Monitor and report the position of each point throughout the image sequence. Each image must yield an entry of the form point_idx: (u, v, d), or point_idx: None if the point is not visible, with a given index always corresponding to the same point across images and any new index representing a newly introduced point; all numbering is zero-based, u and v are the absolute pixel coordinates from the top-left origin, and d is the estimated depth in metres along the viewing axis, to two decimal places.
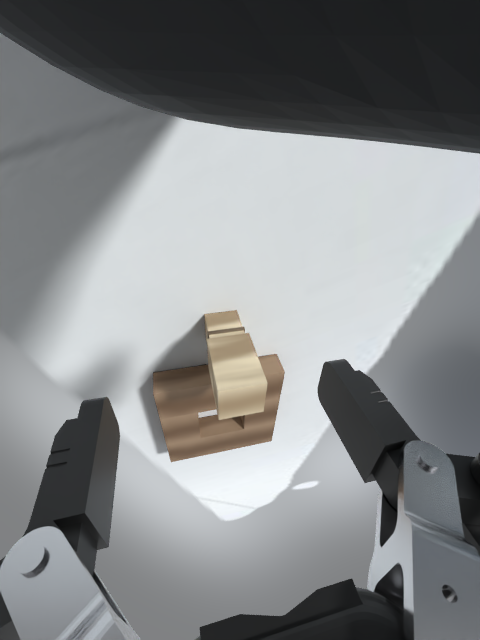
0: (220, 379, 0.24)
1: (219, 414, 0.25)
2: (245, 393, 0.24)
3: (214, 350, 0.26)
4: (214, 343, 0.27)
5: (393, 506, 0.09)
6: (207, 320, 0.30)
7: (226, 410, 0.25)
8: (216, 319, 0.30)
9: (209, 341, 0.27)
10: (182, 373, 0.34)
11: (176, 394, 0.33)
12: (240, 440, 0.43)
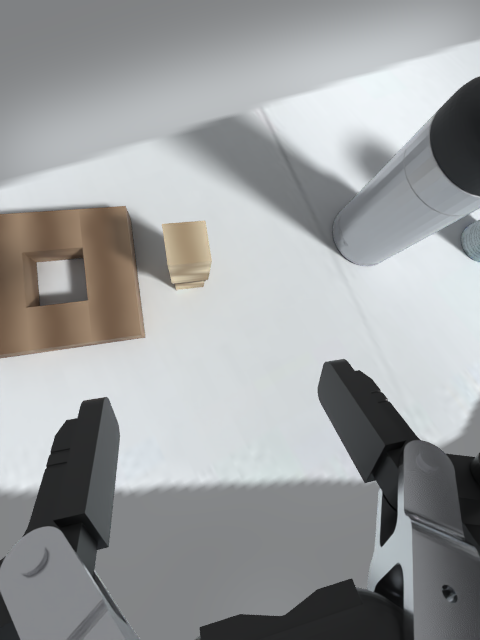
0: None
1: (170, 224, 0.27)
2: (199, 243, 0.28)
3: None
4: None
5: (393, 506, 0.09)
6: None
7: (176, 229, 0.27)
8: None
9: None
10: (132, 241, 0.36)
11: (120, 226, 0.34)
12: None
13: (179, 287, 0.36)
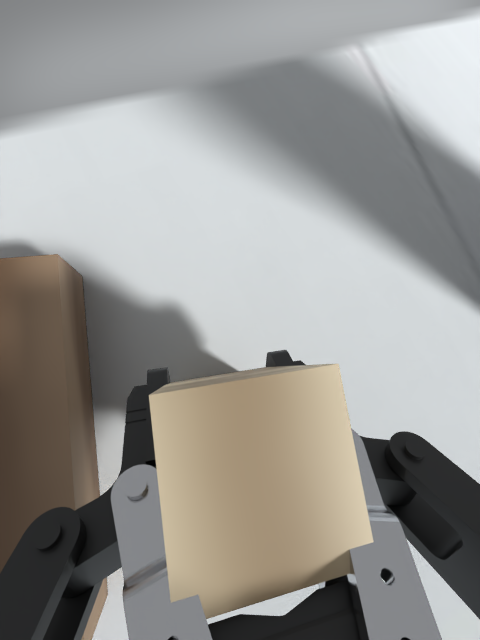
0: None
1: (191, 392, 0.06)
2: (321, 480, 0.06)
3: None
4: None
5: None
6: None
7: (216, 418, 0.06)
8: None
9: None
10: (81, 337, 0.14)
11: (40, 311, 0.12)
12: None
13: None
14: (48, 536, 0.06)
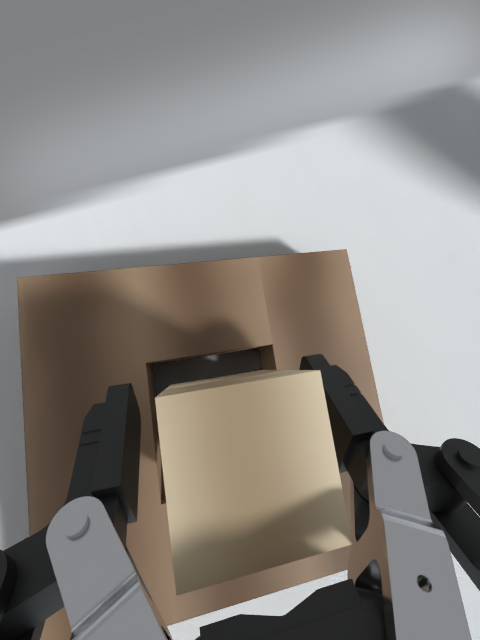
0: None
1: (191, 395, 0.07)
2: (303, 471, 0.07)
3: None
4: None
5: (365, 498, 0.09)
6: None
7: (212, 418, 0.07)
8: None
9: None
10: None
11: (342, 293, 0.16)
12: None
13: None
14: None
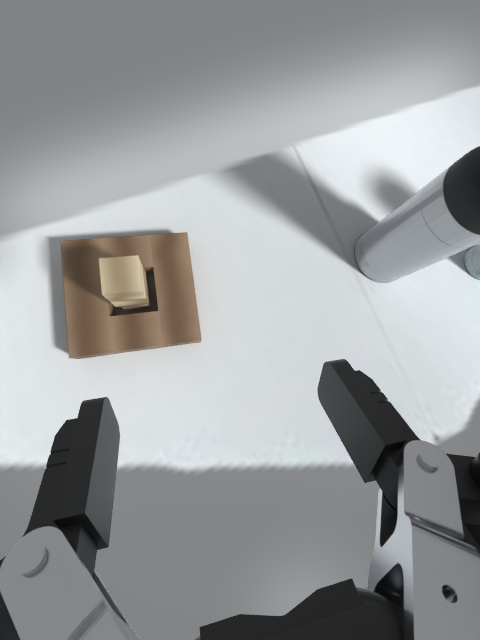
0: (140, 262, 0.33)
1: (106, 258, 0.32)
2: (131, 275, 0.32)
3: (144, 272, 0.36)
4: (145, 275, 0.37)
5: (393, 506, 0.09)
6: None
7: (111, 263, 0.32)
8: (147, 289, 0.41)
9: (145, 273, 0.38)
10: None
11: (183, 249, 0.40)
12: (85, 315, 0.37)
13: (126, 308, 0.40)
14: None
